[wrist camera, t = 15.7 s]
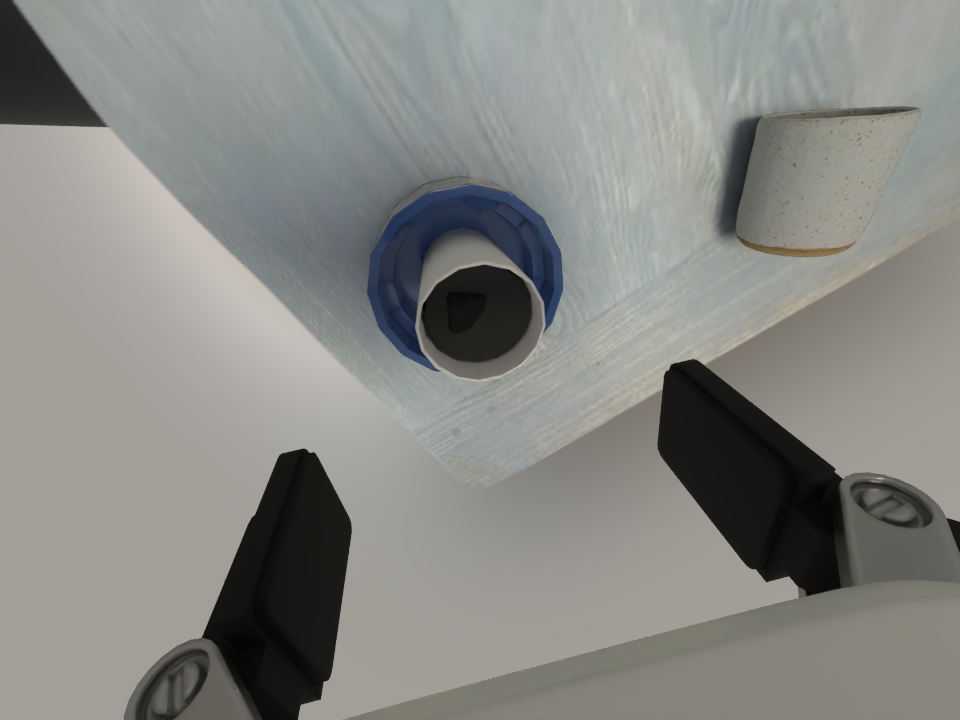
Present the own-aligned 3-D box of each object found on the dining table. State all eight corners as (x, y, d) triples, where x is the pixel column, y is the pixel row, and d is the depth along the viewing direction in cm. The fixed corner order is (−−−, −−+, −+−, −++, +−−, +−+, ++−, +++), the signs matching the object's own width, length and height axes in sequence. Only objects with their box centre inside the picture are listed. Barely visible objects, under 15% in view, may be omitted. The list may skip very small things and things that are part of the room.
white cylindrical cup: (417, 312, 30) (417, 384, 21) (413, 220, 26) (412, 260, 18) (504, 311, 31) (537, 380, 22) (511, 222, 27) (554, 261, 19)
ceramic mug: (709, 241, 31) (791, 270, 24) (731, 119, 27) (837, 113, 20) (832, 221, 32) (945, 244, 25) (873, 99, 27) (1020, 88, 21)
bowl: (345, 292, 29) (332, 319, 24) (434, 135, 25) (438, 135, 20) (480, 366, 33) (489, 399, 29) (573, 244, 29) (600, 262, 25)
